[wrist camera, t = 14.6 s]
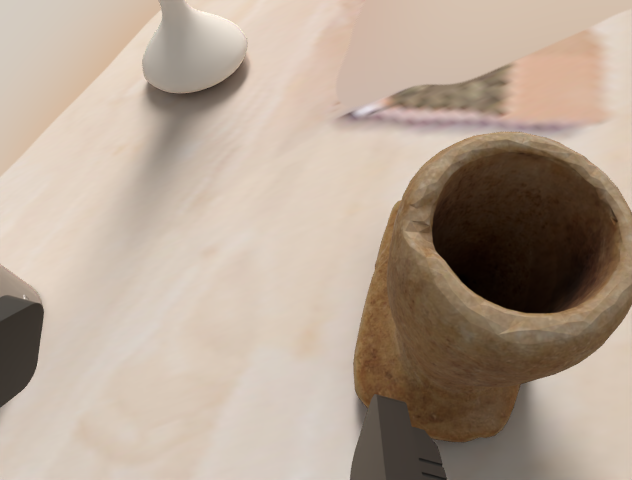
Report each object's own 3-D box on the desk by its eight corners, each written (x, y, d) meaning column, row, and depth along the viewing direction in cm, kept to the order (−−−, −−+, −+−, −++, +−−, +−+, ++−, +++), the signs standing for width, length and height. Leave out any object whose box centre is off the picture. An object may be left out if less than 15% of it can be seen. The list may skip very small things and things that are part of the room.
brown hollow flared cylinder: (548, 478, 25) (674, 400, 13) (336, 415, 29) (281, 308, 17) (564, 245, 33) (654, 56, 21) (394, 218, 37) (384, 43, 24)
